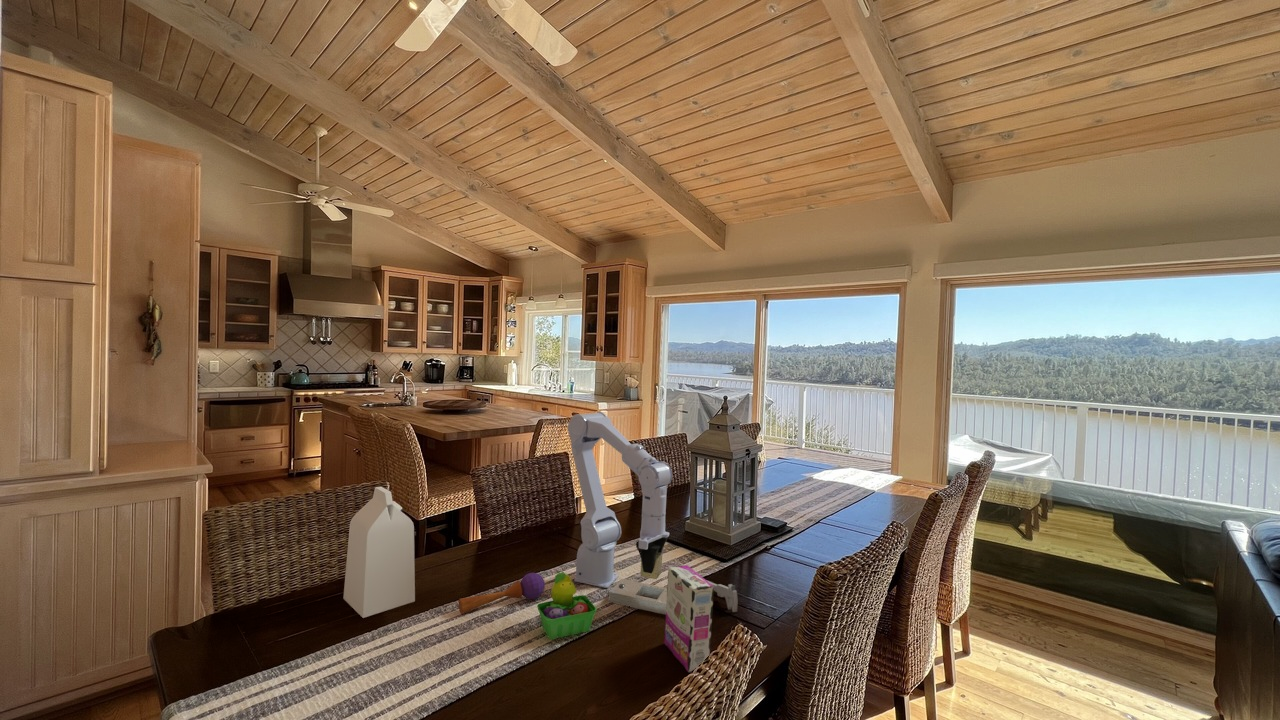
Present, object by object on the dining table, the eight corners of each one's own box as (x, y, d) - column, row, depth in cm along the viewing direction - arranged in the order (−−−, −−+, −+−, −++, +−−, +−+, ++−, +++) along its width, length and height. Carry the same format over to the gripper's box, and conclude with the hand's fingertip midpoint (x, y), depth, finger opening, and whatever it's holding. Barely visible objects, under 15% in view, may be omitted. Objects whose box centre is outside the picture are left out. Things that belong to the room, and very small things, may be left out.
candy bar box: (711, 669, 105) (715, 586, 104) (688, 674, 103) (692, 589, 102) (684, 639, 115) (687, 563, 114) (663, 643, 113) (666, 566, 112)
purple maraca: (456, 590, 124) (538, 567, 135) (458, 616, 124) (540, 592, 134) (462, 596, 119) (547, 572, 130) (464, 623, 118) (549, 597, 129)
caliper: (737, 613, 128) (738, 587, 127) (733, 614, 127) (734, 588, 127) (691, 578, 146) (692, 555, 146) (688, 578, 145) (689, 556, 145)
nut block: (640, 576, 129) (641, 555, 129) (645, 569, 133) (646, 550, 133) (656, 579, 128) (657, 558, 127) (661, 573, 131) (662, 552, 131)
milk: (343, 598, 125) (346, 488, 125) (393, 583, 134) (397, 480, 133) (362, 618, 117) (366, 500, 116) (414, 601, 126) (418, 491, 125)
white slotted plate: (608, 601, 130) (609, 590, 130) (621, 588, 137) (621, 577, 137) (680, 618, 124) (681, 606, 124) (689, 602, 131) (689, 591, 131)
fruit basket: (545, 644, 110) (548, 590, 110) (533, 623, 118) (535, 573, 118) (596, 633, 116) (599, 581, 115) (582, 614, 123) (584, 565, 123)
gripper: (660, 524, 122) (657, 583, 122) (677, 507, 135) (675, 560, 136) (631, 519, 124) (628, 577, 124) (651, 503, 138) (648, 555, 138)
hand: (650, 568), depth 130 cm, fingers closed on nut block, 4 cm apart
